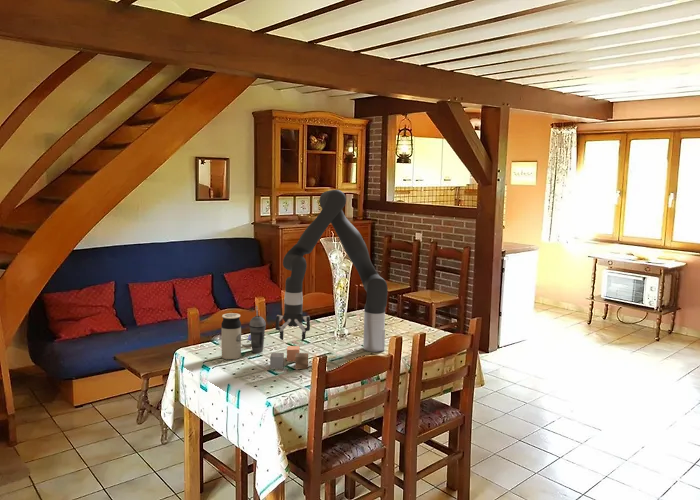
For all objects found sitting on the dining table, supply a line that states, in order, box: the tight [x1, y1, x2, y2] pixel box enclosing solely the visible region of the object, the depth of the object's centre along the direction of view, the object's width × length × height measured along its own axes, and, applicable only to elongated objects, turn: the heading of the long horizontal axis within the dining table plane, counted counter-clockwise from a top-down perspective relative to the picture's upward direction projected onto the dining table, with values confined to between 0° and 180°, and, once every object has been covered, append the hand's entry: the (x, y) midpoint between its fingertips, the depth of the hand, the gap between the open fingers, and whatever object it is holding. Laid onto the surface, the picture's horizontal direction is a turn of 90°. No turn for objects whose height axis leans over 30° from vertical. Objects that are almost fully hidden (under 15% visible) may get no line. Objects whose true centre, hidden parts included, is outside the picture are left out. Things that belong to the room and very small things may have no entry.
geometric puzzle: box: [246, 332, 251, 343], centre depth 258 cm, size 7×7×8 cm
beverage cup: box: [248, 305, 267, 354], centre depth 248 cm, size 7×7×20 cm
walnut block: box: [294, 352, 309, 370], centre depth 232 cm, size 5×5×5 cm
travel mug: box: [220, 312, 242, 360], centre depth 240 cm, size 8×8×18 cm
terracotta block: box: [286, 345, 301, 362], centre depth 240 cm, size 5×5×5 cm
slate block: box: [269, 352, 285, 370], centre depth 231 cm, size 5×5×5 cm
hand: (292, 340), depth 240 cm, fingers open, 8 cm apart
